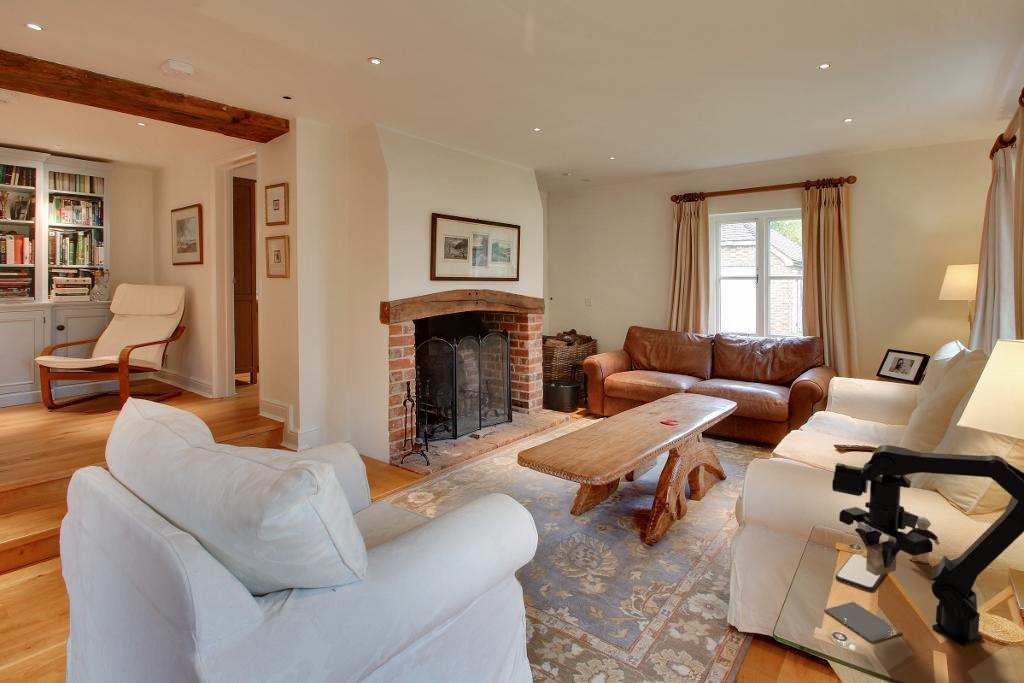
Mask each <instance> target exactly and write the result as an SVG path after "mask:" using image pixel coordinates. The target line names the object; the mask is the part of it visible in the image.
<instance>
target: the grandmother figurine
mask: <svg viewBox="0 0 1024 683" xmlns="http://www.w3.org/2000/svg"><path fill="white" fill-rule="evenodd" d="M931 525H932V523H931V521H930V520H929V519H928V517H927V518H926V517H925V516H919V518H918V521H917V524H916V527H915V529H912V528H911V530H910V531H908V532H907V533H906V534H908V533H912V532H915V533H917V534H919V535H922V536H924V537H926V538H929V539H930V540H931V541H933V542H934V544H935V545H937V546H940V544H941V542H939V537H938V536H937V535H936V534H935V533H934V532H932V531H930V530H929V527H931ZM929 554H930V552H928V553H924V554H920V555H916V556H914V555H910V557H909V558H908V560H909V559H910V560H912V561H911V562H913V561H915V562H916V561H917V562H918V561H919V562H920V563H922V564H925V563H926V564H925V565H928V564H927V563H929V564H930V560H928V559H929ZM910 560H909V561H910ZM915 562H914V563H915Z"/></svg>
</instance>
